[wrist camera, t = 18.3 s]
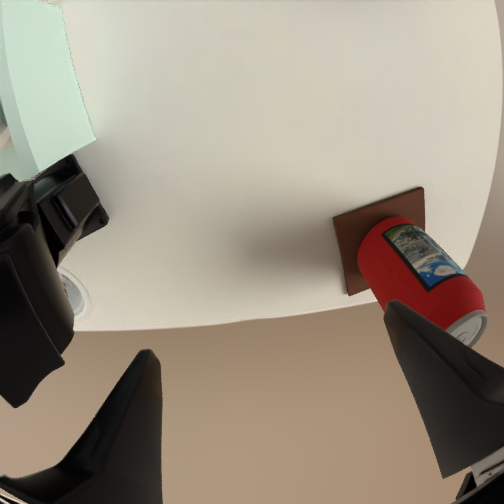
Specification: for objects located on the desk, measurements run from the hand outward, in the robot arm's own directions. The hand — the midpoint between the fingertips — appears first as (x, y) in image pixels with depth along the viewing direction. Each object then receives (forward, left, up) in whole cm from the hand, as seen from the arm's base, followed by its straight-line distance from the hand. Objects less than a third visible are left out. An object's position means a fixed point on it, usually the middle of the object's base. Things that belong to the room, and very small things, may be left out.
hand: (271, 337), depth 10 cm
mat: (+10, -9, -13) cm, 19 cm away
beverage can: (+10, -9, -13) cm, 18 cm away
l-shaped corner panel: (-13, +15, -13) cm, 24 cm away
